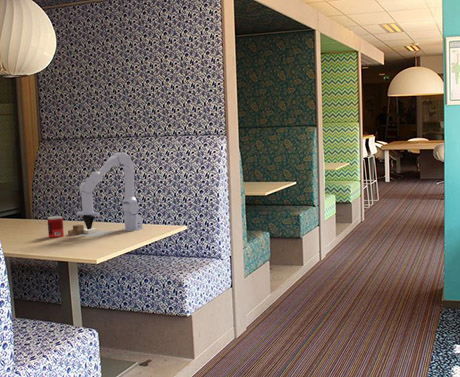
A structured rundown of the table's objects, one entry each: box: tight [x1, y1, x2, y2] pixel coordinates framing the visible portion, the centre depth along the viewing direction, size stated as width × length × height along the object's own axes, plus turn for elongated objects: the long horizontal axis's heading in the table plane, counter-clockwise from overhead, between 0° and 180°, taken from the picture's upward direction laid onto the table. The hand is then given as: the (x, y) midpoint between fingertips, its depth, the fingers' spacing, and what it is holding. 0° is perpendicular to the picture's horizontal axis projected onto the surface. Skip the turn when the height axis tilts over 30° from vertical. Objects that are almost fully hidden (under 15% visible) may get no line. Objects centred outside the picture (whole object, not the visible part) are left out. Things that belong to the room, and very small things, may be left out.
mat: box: [74, 229, 116, 238], centre depth 342 cm, size 20×17×1 cm
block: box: [72, 223, 85, 236], centre depth 340 cm, size 4×4×5 cm
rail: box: [67, 228, 74, 236], centre depth 342 cm, size 2×7×2 cm, turn 152°
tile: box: [84, 227, 98, 234], centre depth 344 cm, size 2×7×7 cm
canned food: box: [47, 215, 65, 239], centre depth 335 cm, size 8×8×11 cm
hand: (89, 229), depth 336 cm, fingers closed
